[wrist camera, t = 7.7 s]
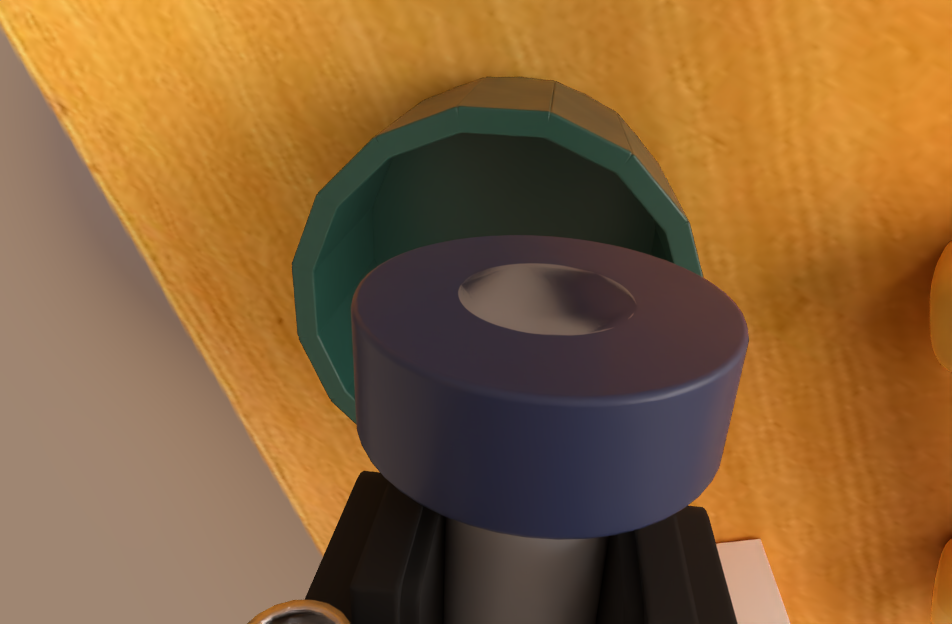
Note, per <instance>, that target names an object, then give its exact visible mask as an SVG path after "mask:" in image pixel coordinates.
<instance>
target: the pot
mask: <svg viewBox="0 0 952 624" xmlns="http://www.w3.org/2000/svg"><path fill="white" fill-rule="evenodd" d="M502 235H534V236H552V237H563V238H572V239H580V240H587V241H593V242H599V243H604V244H610V245H614V246H619V247H623V248H627V249H631V250H635V251H638V252H642V253H645V254H648V255H651V256H654V257H657V258H660V259H663V260H666V261H668V262H671V263H673V264H676V265H678V266H681V267H683V268H685V269H687V270H689V271H691V272H693V273H695V274H697V275H699V276H701V277H703V274H702V270H701V266H700V262H699V258H698V254H697V250H696V246H695V242H694V238H693V234H692V230H691V226H690V222H689V221H688V219H687V217H686V215H685V213H684V211H683V209H682V207H681V205H680V204H679V202H678V200H677V198H676V196H675V194H674V192H673V190H672V188H671V187H670V185H669V183H668V181H667V179H666V177H665V175H664V173H663V171H662V170H661V168H660V166H659V164H658V162H657V161H656V160H655V158H654V157H653V156H652V155H651V154H650V152H649V151H648V150H647V149H646V147H645V146H644V145H643V144H642V142H641V141H640V139H639V138H638V137H637V135H636V134H635V133H634V132H633V131H632V130H631V129H630V128H629V126H628V125H627V124H626V123H625V121H624V120H623V119H622V118H621V117H620V115H619V114H618V113H616V112H615V111H614V110H612V109H610V108H608V107H606V106H604V105H603V104H601V103H599V102H598V101H596V100H594V99H593V98H591V97H589V96H588V95H586V94H584V93H581V92H579V91H576V90H574V89H572V88H569V87H567V86H565V85H563V84H561V83H559V82H555V81H554V80H541V79H533V78H524V77H486V78H481V79H478V80H476V81H473V82H471V83H468V84H464V85H461V86H458V87H455V88H453V89H450V90H448V91H446V92H444V93H441V94H439V95H436V96H433V97H431V98H428V99H425V100H424V101H422V102H420V103H419V104H418V105H416V106H415V107H414V108H412V109H411V110H410V111H408V112H407V113H406V114H404V115H403V116H401V117H400V118H399V119H397V120H396V121H395V122H393V123H392V124H391V125H389V126H388V127H387V128H385V129H384V130H383V131H381V132H380V133H379V134H377V135H376V136H375V137H373V138H372V139H371V140H370V141H369V142H368V143H367V144H366V145H365V146H364V147H363V148H362V149H361V150H360V151H359V152H358V153H357V154H356V155H355V156H354V157H353V158H352V159H351V160H350V161H349V162H348V163H347V164H346V165H345V166H344V167H343V168H342V169H341V170H340V171H339V172H338V173H337V174H336V175H335V176H334V177H333V178H332V179H331V180H330V181H329V182H328V183H327V184H326V185H325V186H324V187H323V188H322V189H321V190H320V191H319V192H318V194H317V195H316V197H315V200H314V203H313V206H312V209H311V211H310V214H309V217H308V220H307V223H306V225H305V228H304V231H303V234H302V236H301V239H300V242H299V245H298V248H297V250H296V253H295V256H294V259H293V262H292V274H293V286H294V297H295V309H296V321H297V333H298V336H299V340H300V342H301V344H302V346H303V348H304V350H305V352H306V354H307V356H308V357H309V359H310V361H311V363H312V365H313V367H314V369H315V371H316V373H317V375H318V377H319V379H320V381H321V383H322V385H323V387H324V389H325V391H326V392H327V394H328V396H329V398H330V399H331V401H332V402H333V403H334V404H335V405H336V406H337V407H338V408H339V409H340V410H341V411H343V412H344V413H345V414H346V415H347V416H348V417H349V418H350V419H351V420H352V421H353V422H354V423H356V407H355V386H354V365H353V344H352V323H351V303H352V299H353V295H354V293H355V291H356V289H357V287H358V285H359V284H360V282H361V281H362V280H363V279H364V277H365V276H366V275H367V274H368V273H369V272H371V271H372V270H373V269H375V268H376V267H377V266H379V265H380V264H382V263H384V262H386V261H387V260H389V259H391V258H393V257H396V256H398V255H400V254H403V253H405V252H408V251H411V250H414V249H417V248H420V247H424V246H428V245H432V244H436V243H441V242H446V241H452V240H457V239H465V238H473V237H484V236H502ZM356 424H357V423H356Z"/></svg>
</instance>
